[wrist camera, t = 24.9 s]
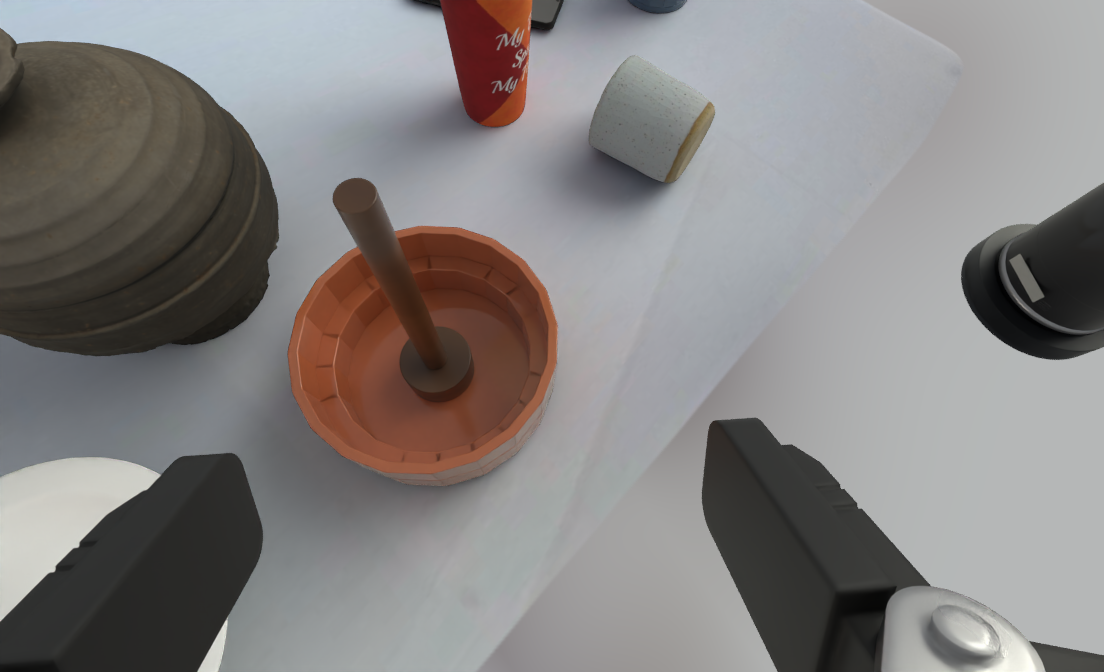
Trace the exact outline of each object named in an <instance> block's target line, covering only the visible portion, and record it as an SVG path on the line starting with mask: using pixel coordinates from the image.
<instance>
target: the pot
mask: <svg viewBox="0 0 1104 672" xmlns="http://www.w3.org/2000/svg"><path fill="white" fill-rule="evenodd" d="M277 205H278V204H277V198H276V195H275V192H274V189H273V187H272V182H271V178H270V175H269V172H268V169H267V167H266V165H265V162H264V161H263V159H262V157H261V155H260V154H259V152H258V151H257V150H256V148H255V145H254V143H253V141H252V139H251V138H250V136H249V134H248V133H247V131H246V130H245V129H244V127H243V126H242V125H241V124H240V123H239V122H238V121H237V120H236V119H235V118H234V117H233V116H232V115H231V114H230V113H229V112H227V111H226V110H225V109H223V108H222V107H220V106H219V105H218V104H217V103H216V102H215V100H214V99H213V98H212V97H211V96H210V95H209V94H208V93H207V92H206V91H205V90H204V89H203V88H202V87H200V86H199V85H198V84H197V83H195V82H194V81H193V80H191V79H190V78H188V77H187V76H185V75H184V74H182V73H180V72H179V71H177V70H175V69H173V68H171V67H169V66H167V65H165V64H163V63H161V62H159V61H157V60H155V59H152V58H150V57H147V56H145V55H142V54H139V53H135V52H132V51H128V50H124V49H119V48H114V47H109V46H104V45H98V44H91V43H80V42H58V41H43V42H28V43H20V44H16V42H15V41H14V39H13V38H12V37H11V36H10V35H9V34H7V33H6V32H5V31H4V30H2V29H1V28H0V334H2V335H6V336H11V337H12V338H14V339H16V340H18V341H21V342H23V343H26V344H28V345H30V346H34V347H39V348H44V349H47V350H53V351H59V352H68V353H74V354H80V355H92V356H111V355H119V354H127V353H139V352H146V351H148V350H153V349H155V348H157V347H158V346H161V345H165V344H168V343H172V344H181V345H187V344H191V345H192V344H198V343H202V342H206V341H207V340H209V339H214V338H216V337H218V336H220V335H222V334H224V333H226V332H228V331H229V329H233V328H235V327H236V326H238V325H239V324H240V323H241V322H243V321H244V320H246V319H247V318H248V316H249V315H250V314H251V313H252V312H253V311H254V309H255V308H256V307H257V306H258V304H259V303H260V301H261V300H262V299H263V296H264V294H265V291H266V289H267V287H268V284H267V281H268V278H269V276H270V275H269V271H268V262H267V260H268V258H269V257H270V255H271V253H272V252H273V251H274V250H275V249H277V246H276V243H277V242H278V239H279V232H278V231H279V229H278V219H279V218H278V206H277Z"/></svg>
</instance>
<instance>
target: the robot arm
mask: <svg viewBox="0 0 1104 672" xmlns="http://www.w3.org/2000/svg"><path fill="white" fill-rule="evenodd" d="M995 273H996V278H997V281H998V284H999V287H1000V289H1001V291H1002V293H1003V294H1004V296H1005V297H1006V299H1007V300H1008V302H1009V303H1010V304H1011V305H1012V306H1013V307H1014V308H1015V309H1016V310H1017V311H1018V312H1019V313H1020V314H1021V315H1022V316H1023V317H1025V318H1026V319H1027V320H1029V321H1030V322H1032V323H1033V324H1035V325H1037V326H1038V327H1041V328H1043V329H1045V330H1047V331H1050V332H1053V333H1056V334H1060V335H1065V336H1085V335H1089V334H1092V333H1094V332H1097V331H1099V330H1102V329H1104V183H1103V184H1101V185H1099V186H1098V187H1096V188H1095V189H1093V190H1091V191H1090V192H1088V193H1087V194H1085V195H1083V196H1082V197H1080V198H1079V199H1078V200H1076V201H1074V202H1073V203H1071V204H1069V205H1068V206H1066V207H1065V208H1063V209H1062V210H1060V211H1058V212H1057V213H1055V214H1054V215H1052V216H1050V217H1049V218H1047V219H1046V220H1044V221H1043V222H1041V223H1040V224H1038V225H1036V226H1035V227H1033V228H1032V229H1030V230H1028V231H1027V232H1025V233H1022V234H1020V235H1018V236H1017V237H1015V238H1014V239H1012V240H1011V241H1009V242H1007V243H1006V244H1005V245H1004V246H1003V247H1002V248H1001V249H1000V251H999V253H998V255H997V258H996V262H995ZM702 504H703V510H704V516H705V520H706V523H707V526H708V528H709V531H710V533H711V535H712V537H713V539H714V541H715V543H716V545H717V547H718V549H719V551H720V553H721V556H722V557H723V560H724V562H725V564H726V566H727V568H728V570H729V572H730V574H731V576H732V578H733V580H734V582H735V584H736V587H737V588H738V591H739V592H740V594H741V597H742V599H743V601H744V603H745V605H746V607H747V609H748V611H749V613H750V616H751V618H752V619H753V622H754V624H755V626H756V628H757V630H758V632H759V634H760V636H761V638H762V640H763V642H764V644H765V646H766V649H767V651H768V652H769V654H770V657H771V659H772V661H773V663H774V665H775V667H776V669H777V671H778V672H1104V655H1098V654H1093V653H1088V652H1083V651H1078V650H1072V649H1067V648H1061V647H1057V646H1051V645H1046V644H1041V643H1036V642H1031V641H1028V640H1027V639H1026V638H1025V637H1024V636H1023V635H1022V634H1021V632H1020V631H1019V630H1018V629H1016V628H1015V627H1014V626H1013V625H1012V624H1011V623H1010V622H1008V621H1007V620H1006V619H1004V618H1003V617H1002V616H1000V615H999V614H997V613H996V612H994V611H993V610H991V609H990V608H988V607H986V606H985V605H983V604H981V603H979V602H977V601H975V600H973V599H971V598H969V597H967V596H964V595H962V594H959V593H956V592H953V591H950V590H947V589H942V588H937V587H931V586H930V584H929V583H928V582H927V581H926V580H925V579H924V578H923V577H922V575H920V573H919V572H918V571H917V570H916V569H915V568H914V567H913V565H912V564H911V563H910V562H909V561H908V560H907V559H906V558H905V557H904V555H903V554H902V553H901V552H900V551H899V550H898V549H897V548H896V546H895V545H894V544H893V543H892V542H891V541H890V540H889V539H888V537H887V536H886V535H885V534H884V533H883V532H882V531H881V530H880V529H879V527H877V525H876V524H875V523H874V522H873V521H872V520H871V518H870V517H869V516H868V515H867V514H866V513H865V512H864V511H863V510H862V509H858V507H857V503H856V502H855V501H854V500H853V498H852V497H851V496H850V495H849V494H848V493H847V492H846V491H845V489H841V488H840V484H839V483H838V482H837V480H836V479H835V478H834V477H833V476H832V475H831V474H830V473H829V472H828V471H827V469H826V468H825V467H824V466H823V465H822V464H821V463H820V462H819V461H817V460H816V459H814V458H812V457H811V456H809V455H808V454H806V453H805V452H803V451H801V450H800V449H798V448H797V447H795V446H793V445H781V444H780V443H779V442H778V441H777V439H776V438H775V437H774V436H773V435H772V433H771V432H770V431H769V430H768V429H767V427H766V426H765V425H764V424H763V422H762V421H761V420H759V419H758V418H746V419H731V420H716V421H713V422H712V423H711V424H710V426H709V431H708V438H707V448H706V458H705V467H704V477H703V488H702ZM262 543H263V530H262V524H261V521H260V518H259V515H258V512H257V508H256V505H255V502H254V499H253V496H252V493H251V490H250V487H249V483H248V480H247V477H246V474H245V471H244V468H243V465H242V462H241V460H240V459H239V458H238V456H236V455H235V454H233V453H224V454H210V455H195V456H183V457H180V458H178V459H176V460H175V461H174V462H173V463H172V464H171V465H170V466H169V467H168V468H167V469H166V470H165V471H164V473H163V474H162V475H161V476H160V477H159V478H158V479H157V480H156V481H155V482H154V483H153V484H152V485H151V486H150V487H149V488H148V489H147V490H143V491H142V492H140V493H139V494H137V495H136V496H134V497H133V498H131V499H130V500H128V501H127V502H125V503H124V504H122V505H121V506H119V507H117V508H116V509H114V510H113V511H111V512H110V513H108V514H107V515H106V516H105V517H104V518H103V519H102V520H101V521H100V522H99V523H98V524H97V525H96V526H95V527H94V528H93V529H92V530H91V531H90V532H89V533H88V534H87V535H86V536H85V537H84V538H83V539H82V540H81V541H80V542H79V547H78V548H73V549H72V550H71V551H70V552H69V553H68V554H67V555H66V556H65V557H64V558H63V559H62V560H61V561H60V562H59V563H58V564H57V565H56V566H55V567H56V569H55V571H54V572H50V573H48V574H47V575H46V576H45V577H44V578H43V579H42V580H41V581H40V582H39V583H38V584H37V585H36V586H35V587H34V588H33V589H32V590H31V591H30V592H29V593H28V594H27V595H26V596H25V597H24V598H23V599H22V600H21V601H20V602H19V603H18V604H17V605H16V606H15V607H14V608H13V609H12V610H11V611H10V612H9V613H8V614H7V615H6V616H5V617H4V618H3V619H2V620H1V621H0V672H197V671H198V670H199V668H200V666H201V664H202V662H203V661H204V659H205V657H206V655H207V653H208V651H209V650H210V648H211V646H212V644H213V642H214V641H215V639H216V637H217V635H218V633H219V632H220V630H221V628H222V626H223V624H224V623H225V621H226V619H227V617H228V615H229V614H230V612H231V610H232V608H233V606H234V605H235V603H236V601H237V599H238V597H239V596H240V594H241V592H242V590H243V588H244V587H245V585H246V583H247V581H248V579H249V578H250V576H251V574H252V572H253V570H254V569H255V567H256V565H257V563H258V560H259V557H260V554H261V550H262Z"/></svg>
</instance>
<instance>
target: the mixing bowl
mask: <svg viewBox="0 0 1104 672" xmlns="http://www.w3.org/2000/svg"><path fill="white" fill-rule="evenodd" d="M394 232H395V234H396V236H397V239H398V241H399V243H400V246H401V248H402V250H403V253H404V255H405V258H406V260H407V262H408V265H409V267H410V269H411V272H412V274H413V276H414V279H415V281H416V283H417V286H418V288H419V291H420V293H421V295H422V298H423V300H424V302H425V305H426V307H427V309H428V312H429V314H430V316H431V319H432V321H433V323H434V326H441V327H447V328H450V329H453V330H455V331H456V332H458V333H459V334H461V335H462V336H463V337H464V339H465V340H466V341H467V343H468V345H469V348H470V351H471V354H472V358H473V361H474V375H473V379H472V381H471V383H470V385H469V386H468V388H467V389H466V390H465V391H464V392H463V393H462V394H461V395H459V396H458V397H456V398H454V399H452V400H449V401H445V402H432V401H428V400H425V399H423V398H421V397H419V396H418V395H417V394H416V393H415V392H414V391H413V390H412V389H411V387H410V386H409V385H408V383H407V382H406V380H405V379H404V377H403V376H402V373H401V370H400V364H399V360H400V354H401V351H402V348H403V346H404V345H405V343H406V342H407V341H408V339H409V336H408V334H407V333H406V331H405V329H404V327H403V326H402V324H401V322H400V320H399V318H398V317H397V315H396V313H395V311H394V310H393V308H392V306H391V304H390V303H389V301H388V299H387V297H386V295H385V294H384V292H383V290H382V288H381V287H380V285H379V283H378V281H377V280H376V278H375V276H374V274H373V273H372V271H371V269H370V267H369V265H368V264H367V262H366V260H365V258H364V257H363V255H362V253H361V251H360V250H359V248H358V247H356V248H354V249H352V250H350V251H348V252H347V253H345V254H344V255H343V256H342V257H341V258H340V259H339V260H338V261H337V262H336V263H335V264H333V265H332V266H331V267H330V268H329V269H328V270H327V271H326V272H325V273H324V274H323V275H321V276H320V277H319V278H318V280H316V282H315V284H314V285H313V287H312V289H311V290H310V292H309V294H308V295H307V297H306V299H305V300H304V302H303V304H302V305H301V307H300V309H299V310H298V312H297V314H296V318H295V322H294V327H293V331H292V335H291V340H290V344H289V348H288V362H289V370H290V379H291V387H292V392H293V395H294V397H295V399H296V401H297V403H298V405H299V407H300V409H301V411H302V413H303V414H304V416H305V418H306V420H307V422H308V424H309V426H310V428H311V429H312V430H313V431H314V432H315V433H316V434H318V435H319V436H320V437H321V438H322V439H323V440H324V441H326V442H327V443H328V444H329V445H330V446H331V447H332V448H334V449H335V450H336V451H337V452H338V453H339V454H340V455H342V456H343V457H345V458H347V459H349V460H351V461H353V462H355V463H357V464H359V465H361V466H363V467H365V468H367V469H369V470H371V471H373V472H375V473H378V474H380V475H383V476H386V477H388V478H391V479H393V480H396V481H399V482H401V483H404V484H408V485H430V486H446V485H447V486H449V485H452V484H456V483H459V482H462V481H466V480H469V479H473V478H476V477H479V476H483V475H485V474H487V473H488V472H490V471H491V470H493V469H494V468H496V467H497V466H499V465H500V464H502V463H503V462H505V461H506V460H508V459H509V458H510V457H512V456H513V455H515V454H516V453H517V452H518V451H519V450H520V449H521V448H522V446H523V445H524V444H525V442H526V441H527V440H528V439H529V437H530V436H531V435H532V434H533V432H534V431H535V430H536V429H537V427H538V426H539V425H540V423H541V421H542V418H543V415H544V413H545V410H546V407H547V405H548V402H549V399H550V396H551V394H552V391H553V385H554V378H555V371H556V364H557V334H558V325H557V321H556V318H555V315H554V312H553V308H552V305H551V302H550V299H549V296H548V293H547V290H546V288H545V287H544V286H543V284H542V283H541V282H540V280H539V279H538V278H537V276H536V275H535V274H534V272H533V271H532V270H531V268H530V267H529V266H528V264H527V263H526V262H525V261H524V260H523V259H522V258H520V257H519V256H517V255H516V254H515V253H513V252H512V251H510V250H509V249H507V248H506V247H505V246H503V245H502V244H500V243H499V242H497V241H496V240H494V239H492V238H489V237H486V236H483V235H480V234H477V233H474V232H471V231H468V230H465V229H462V228H458V227H435V226H417V227H412V228H408V229H403V230H399V231H394Z"/></svg>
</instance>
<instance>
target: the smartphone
mask: <svg viewBox="0 0 1104 672" xmlns="http://www.w3.org/2000/svg"><path fill="white" fill-rule="evenodd" d="M415 1H420V2H424V3H429V4H434V5H438V6H441V2H440V0H415ZM563 1H564V0H532V12H531V26H532V27H536V28H541V29H545V30H550V29H552V28H553V27H554V24H555V22H556V19H557V17H558V14H559V12H560V9H561V6H562V4H563Z"/></svg>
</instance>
